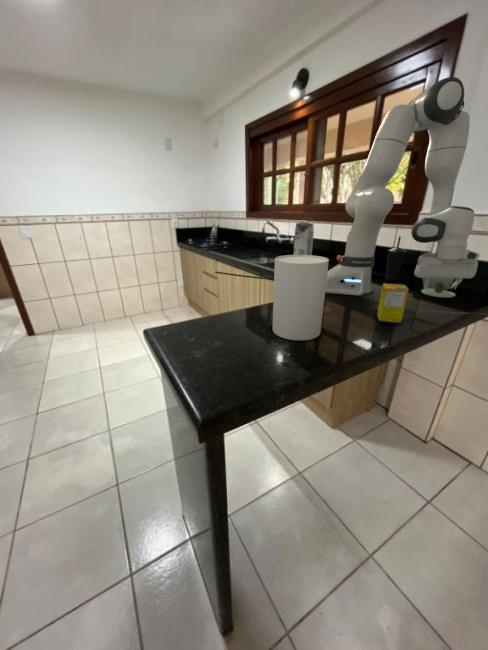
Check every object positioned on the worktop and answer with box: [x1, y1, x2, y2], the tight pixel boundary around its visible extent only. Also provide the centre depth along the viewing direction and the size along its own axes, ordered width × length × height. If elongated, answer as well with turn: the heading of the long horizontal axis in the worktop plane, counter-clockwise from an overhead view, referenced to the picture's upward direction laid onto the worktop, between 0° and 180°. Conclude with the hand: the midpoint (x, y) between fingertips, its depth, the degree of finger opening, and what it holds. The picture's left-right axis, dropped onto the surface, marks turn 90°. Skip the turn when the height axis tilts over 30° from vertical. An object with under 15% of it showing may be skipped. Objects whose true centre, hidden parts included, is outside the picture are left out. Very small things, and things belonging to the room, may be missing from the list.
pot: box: [422, 278, 455, 290], centre depth 113 cm, size 10×10×8 cm
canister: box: [271, 254, 330, 341], centre depth 71 cm, size 14×14×20 cm
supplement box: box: [376, 282, 409, 326], centre depth 79 cm, size 6×6×11 cm
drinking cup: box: [384, 235, 407, 281], centre depth 125 cm, size 8×8×20 cm
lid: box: [420, 282, 456, 299], centre depth 103 cm, size 11×11×5 cm
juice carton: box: [293, 219, 315, 255], centre depth 141 cm, size 9×10×27 cm
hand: (439, 288), depth 104 cm, fingers open, 8 cm apart
